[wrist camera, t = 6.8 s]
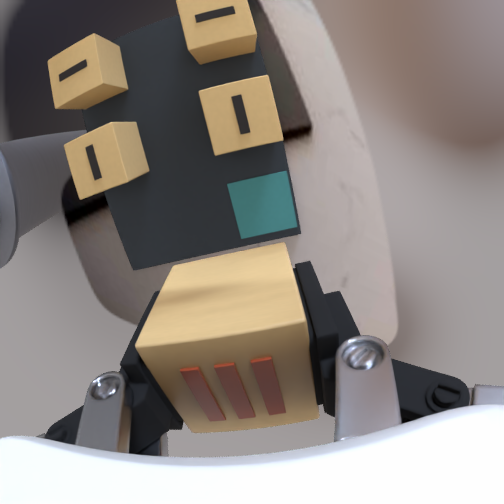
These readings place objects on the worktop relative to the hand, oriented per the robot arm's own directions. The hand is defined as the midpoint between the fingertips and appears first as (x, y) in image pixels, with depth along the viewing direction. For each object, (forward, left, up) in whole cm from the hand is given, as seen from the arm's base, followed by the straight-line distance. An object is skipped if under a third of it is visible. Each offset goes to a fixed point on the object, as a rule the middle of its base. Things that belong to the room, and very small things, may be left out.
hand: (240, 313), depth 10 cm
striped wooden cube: (0, 0, -1) cm, 1 cm away
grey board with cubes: (-6, +5, -14) cm, 16 cm away
